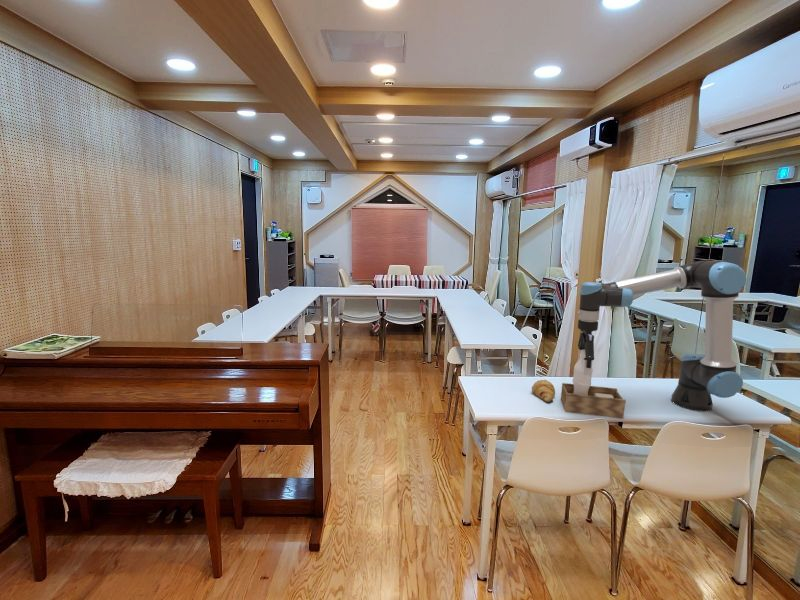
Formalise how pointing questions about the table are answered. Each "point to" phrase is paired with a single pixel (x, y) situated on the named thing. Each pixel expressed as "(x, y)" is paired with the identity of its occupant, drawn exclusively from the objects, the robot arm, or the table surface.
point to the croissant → (544, 390)
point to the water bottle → (581, 377)
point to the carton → (603, 395)
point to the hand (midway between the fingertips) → (583, 369)
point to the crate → (593, 401)
